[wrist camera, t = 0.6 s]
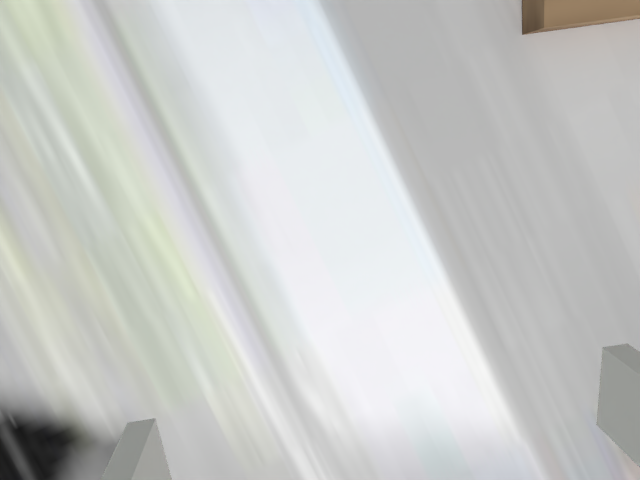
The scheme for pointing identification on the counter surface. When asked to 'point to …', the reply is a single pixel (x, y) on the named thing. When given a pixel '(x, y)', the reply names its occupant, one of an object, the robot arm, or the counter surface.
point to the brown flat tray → (575, 13)
